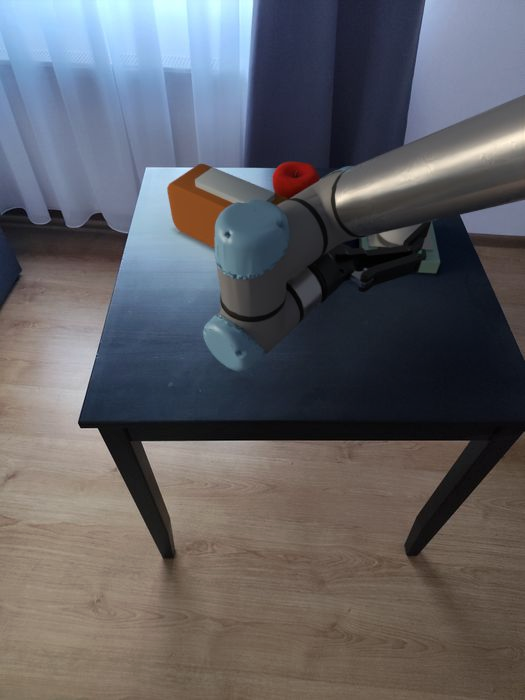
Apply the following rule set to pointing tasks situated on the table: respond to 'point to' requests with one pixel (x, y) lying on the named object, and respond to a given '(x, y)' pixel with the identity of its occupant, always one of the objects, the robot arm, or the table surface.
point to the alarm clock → (210, 199)
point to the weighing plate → (378, 241)
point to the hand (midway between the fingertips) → (387, 210)
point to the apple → (293, 178)
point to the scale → (429, 258)
